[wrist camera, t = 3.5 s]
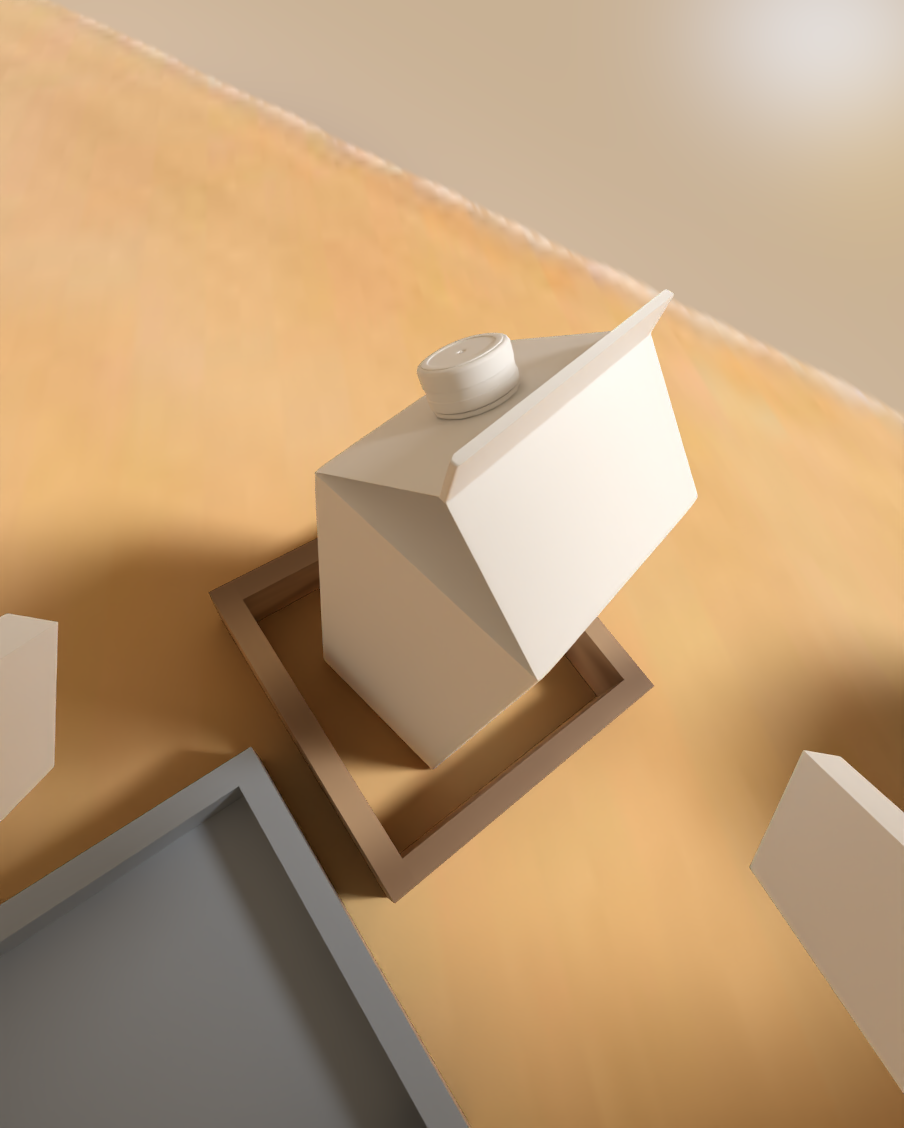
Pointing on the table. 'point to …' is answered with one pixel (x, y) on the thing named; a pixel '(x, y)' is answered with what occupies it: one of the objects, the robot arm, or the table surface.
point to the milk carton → (494, 522)
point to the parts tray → (203, 982)
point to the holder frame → (394, 872)
